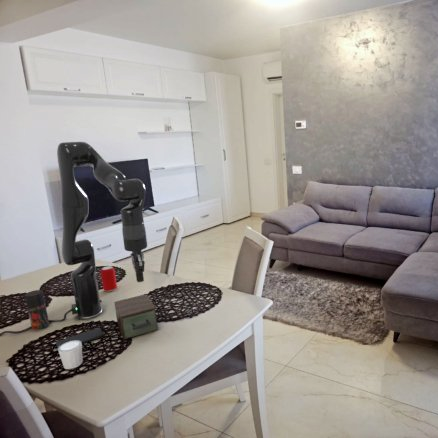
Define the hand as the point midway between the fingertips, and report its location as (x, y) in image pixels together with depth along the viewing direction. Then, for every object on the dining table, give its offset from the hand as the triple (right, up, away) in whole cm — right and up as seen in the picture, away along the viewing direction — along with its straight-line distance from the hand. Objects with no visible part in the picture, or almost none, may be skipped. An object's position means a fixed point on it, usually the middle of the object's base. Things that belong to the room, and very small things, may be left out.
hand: (140, 281), depth 131 cm
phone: (-25, -23, +5) cm, 35 cm away
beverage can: (-37, -14, +52) cm, 65 cm away
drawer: (-5, -21, +11) cm, 24 cm away
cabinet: (-7, -21, +14) cm, 26 cm away
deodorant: (-48, -22, +17) cm, 55 cm away
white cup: (-19, -27, -9) cm, 34 cm away
